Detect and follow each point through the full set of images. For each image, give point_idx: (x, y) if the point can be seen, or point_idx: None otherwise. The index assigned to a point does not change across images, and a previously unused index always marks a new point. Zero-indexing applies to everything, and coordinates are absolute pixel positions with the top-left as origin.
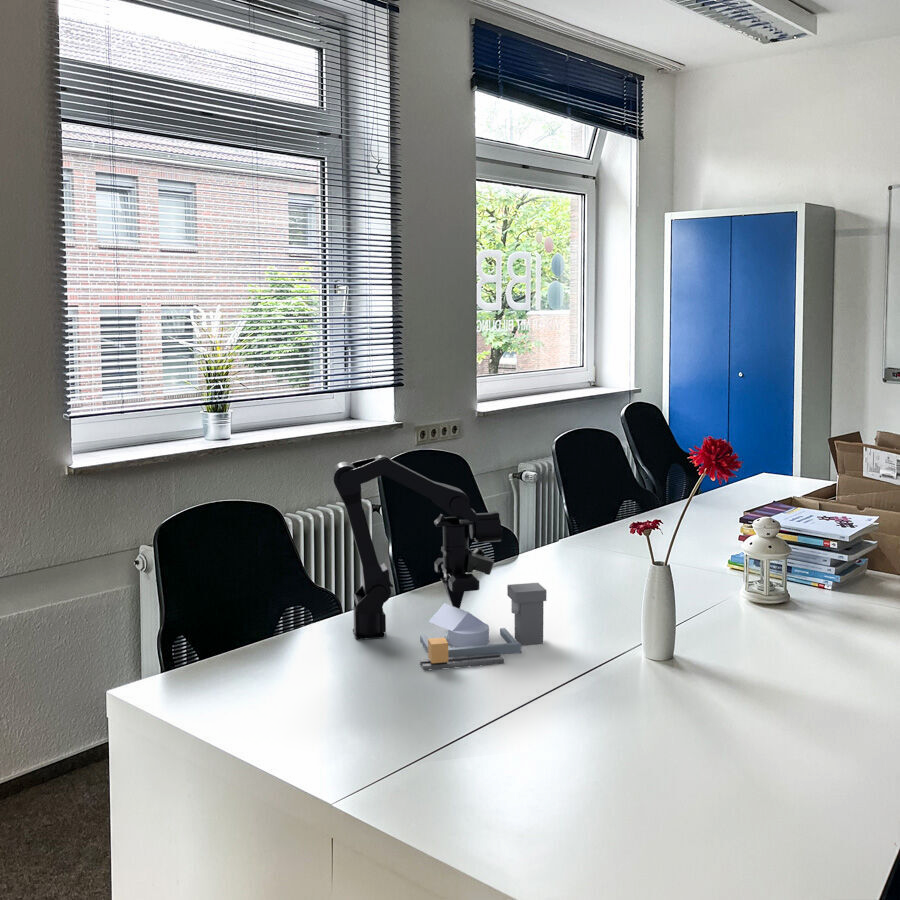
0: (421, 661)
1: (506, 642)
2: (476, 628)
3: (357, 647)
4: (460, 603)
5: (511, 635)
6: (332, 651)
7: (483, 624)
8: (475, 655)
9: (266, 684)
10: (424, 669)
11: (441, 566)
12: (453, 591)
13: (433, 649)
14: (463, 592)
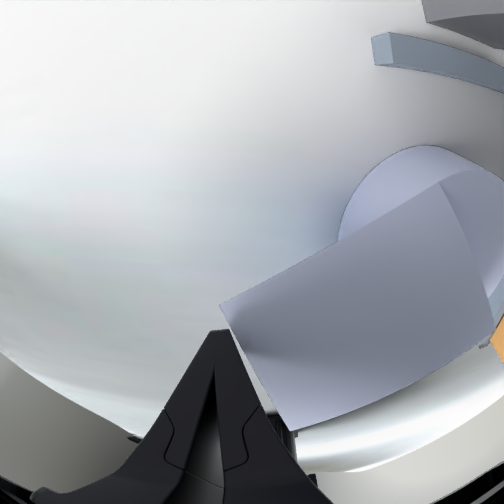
0: (487, 344)
1: (467, 81)
2: (484, 239)
3: (336, 426)
4: (244, 367)
5: (485, 60)
6: (340, 438)
7: (460, 193)
8: None
9: (409, 438)
10: None
11: (21, 499)
12: (489, 471)
13: None
14: (290, 454)
